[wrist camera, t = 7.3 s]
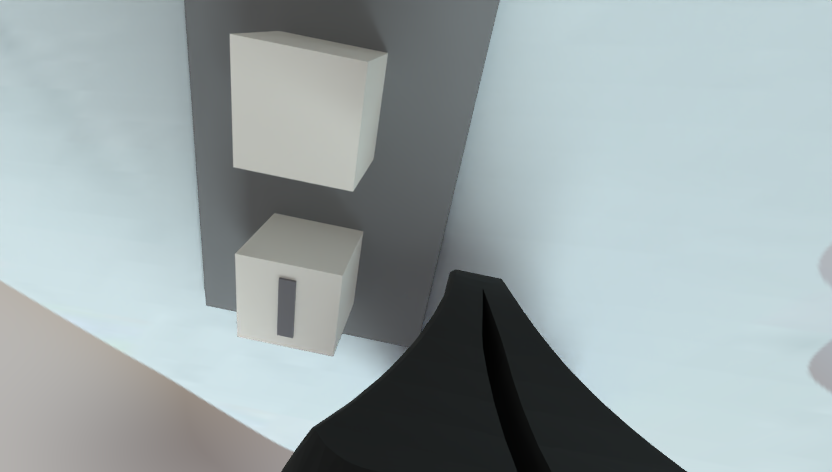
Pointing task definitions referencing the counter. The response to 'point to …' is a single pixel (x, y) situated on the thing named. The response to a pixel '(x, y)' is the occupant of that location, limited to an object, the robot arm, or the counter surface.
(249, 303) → the one bar block
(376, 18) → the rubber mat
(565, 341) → the counter surface
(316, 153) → the plain block
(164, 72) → the counter surface
